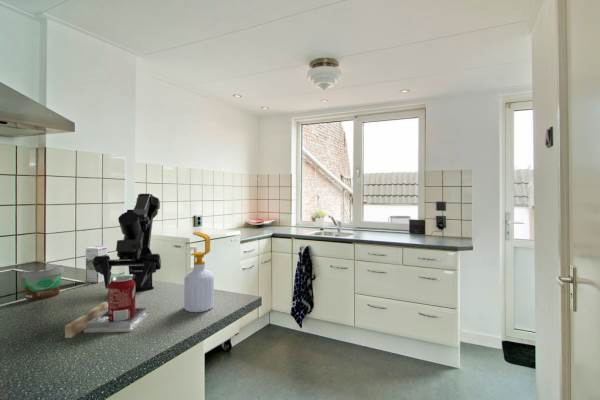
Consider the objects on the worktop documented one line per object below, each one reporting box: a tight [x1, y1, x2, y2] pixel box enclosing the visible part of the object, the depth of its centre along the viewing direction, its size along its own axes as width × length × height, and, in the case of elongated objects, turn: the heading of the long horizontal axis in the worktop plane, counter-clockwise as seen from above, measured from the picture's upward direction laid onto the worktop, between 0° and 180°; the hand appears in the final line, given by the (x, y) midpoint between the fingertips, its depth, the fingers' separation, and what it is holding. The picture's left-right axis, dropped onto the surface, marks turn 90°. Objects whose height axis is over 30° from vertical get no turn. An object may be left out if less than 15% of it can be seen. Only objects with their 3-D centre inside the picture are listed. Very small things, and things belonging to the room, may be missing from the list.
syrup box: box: [85, 245, 108, 284], centre depth 134 cm, size 6×6×14 cm
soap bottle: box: [183, 231, 215, 313], centre depth 104 cm, size 9×9×25 cm
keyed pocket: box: [83, 307, 150, 334], centre depth 92 cm, size 12×12×2 cm
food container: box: [20, 264, 65, 301], centre depth 113 cm, size 12×6×10 cm, turn 148°
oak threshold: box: [64, 301, 108, 339], centre depth 91 cm, size 18×2×3 cm, turn 4°
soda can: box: [107, 275, 136, 321], centre depth 92 cm, size 7×7×12 cm
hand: (123, 287), depth 97 cm, fingers open, 9 cm apart
